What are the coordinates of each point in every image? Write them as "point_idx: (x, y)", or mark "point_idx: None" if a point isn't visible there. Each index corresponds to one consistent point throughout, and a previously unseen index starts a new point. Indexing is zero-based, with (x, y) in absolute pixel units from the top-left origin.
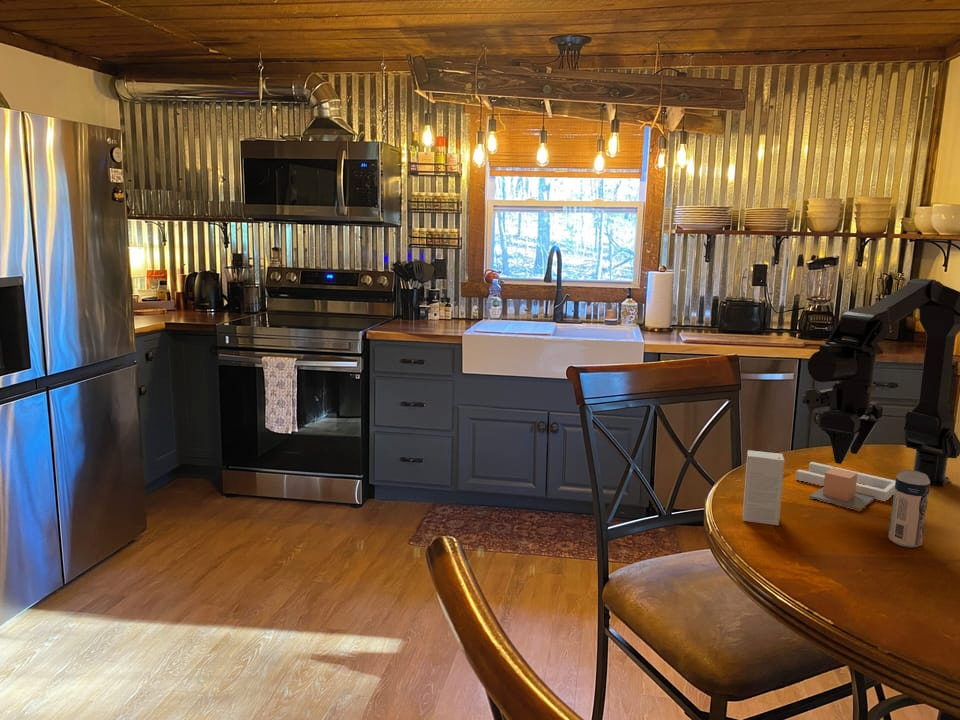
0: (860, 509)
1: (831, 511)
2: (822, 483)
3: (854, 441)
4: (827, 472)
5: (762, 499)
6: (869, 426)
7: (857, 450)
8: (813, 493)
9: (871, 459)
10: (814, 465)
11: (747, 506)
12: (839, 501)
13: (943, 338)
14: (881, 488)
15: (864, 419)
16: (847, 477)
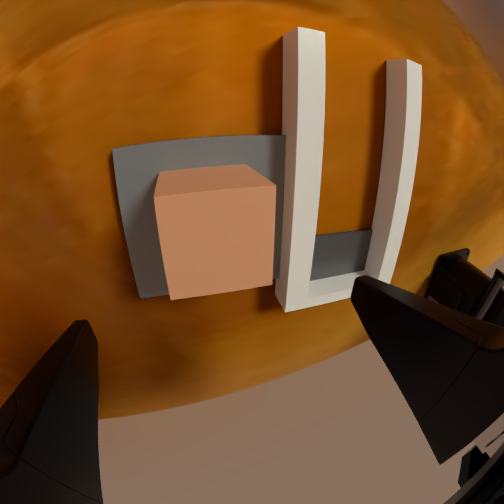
0: (140, 296)
1: (71, 246)
2: (286, 123)
3: (396, 326)
4: (167, 203)
5: None
6: (436, 433)
7: (360, 313)
8: (146, 144)
9: (496, 172)
10: (404, 73)
11: None
12: (144, 237)
13: None
14: (368, 250)
15: (478, 434)
16: (175, 288)
